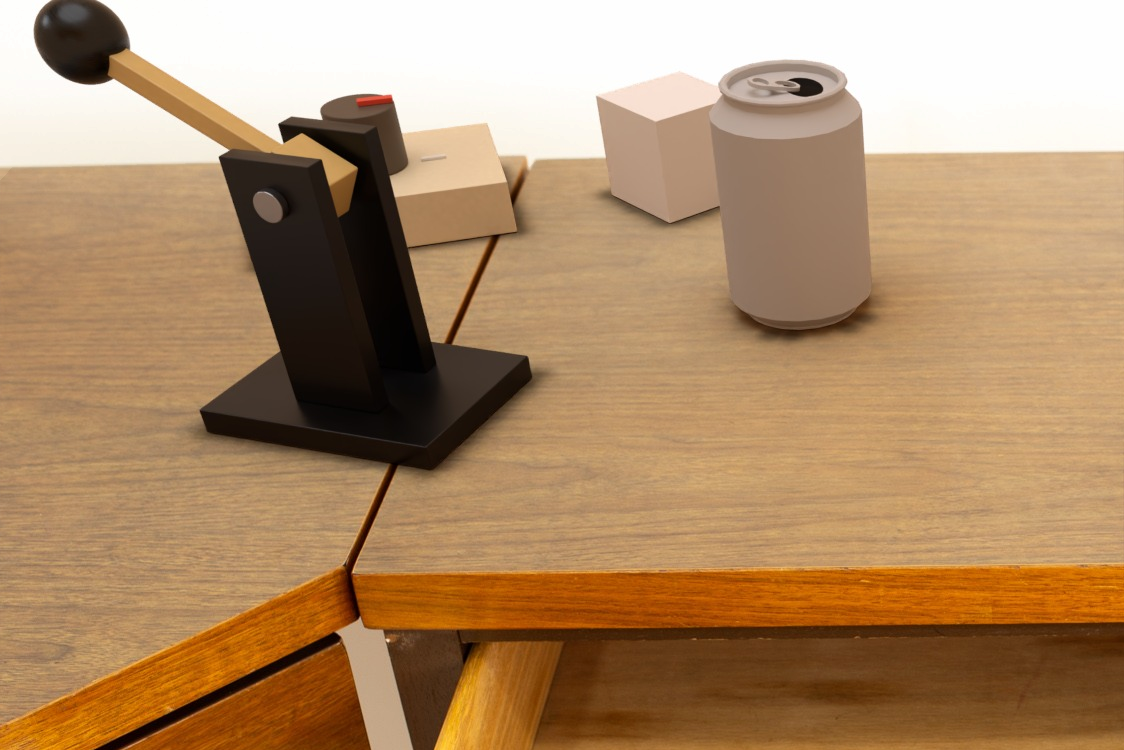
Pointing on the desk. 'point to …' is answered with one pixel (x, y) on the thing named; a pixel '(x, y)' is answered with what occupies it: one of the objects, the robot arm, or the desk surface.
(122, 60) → the lever
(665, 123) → the pale pink cube
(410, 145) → the plate
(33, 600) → the desk surface
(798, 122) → the can
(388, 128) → the lock knob
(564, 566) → the desk surface
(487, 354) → the bracket
